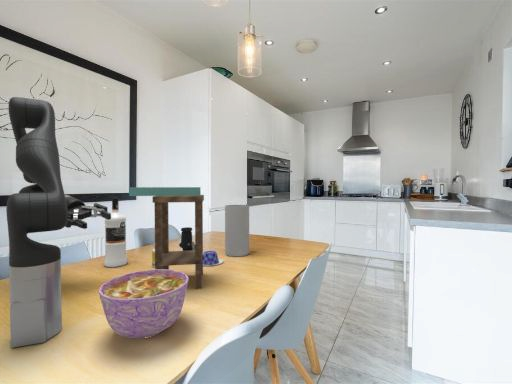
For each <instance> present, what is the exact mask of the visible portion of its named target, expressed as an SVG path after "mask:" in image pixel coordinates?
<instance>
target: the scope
mask: <svg viewBox="0 0 512 384" xmlns="http://www.w3.org/2000/svg"><path fill="white" fill-rule="evenodd" d="M180 231H181V234H180V235H181V237H180V238H181V239H180V243H179V244H178V246H179V248H181V249H182V251H191V250H195V241H193V232H192V231H193V228H192V227H190V226H189V227H187V226H186V227H181V228H180Z"/></svg>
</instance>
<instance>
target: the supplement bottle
mask: <svg viewBox="0 0 512 384" xmlns="http://www.w3.org/2000/svg"><path fill="white" fill-rule="evenodd" d="M153 247H154V248H153V249H152V250H151V252H152V253H151V267H153V268H155V243H153Z"/></svg>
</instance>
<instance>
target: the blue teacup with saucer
mask: <svg viewBox="0 0 512 384" xmlns="http://www.w3.org/2000/svg"><path fill="white" fill-rule="evenodd" d="M223 263H224V260H223V259H221V258H218V253H217V252H216V250H206V251H203V267H205V266H206V267H207V266H208V267H209V266H217V265H220V264H223Z"/></svg>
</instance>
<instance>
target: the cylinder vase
mask: <svg viewBox="0 0 512 384" xmlns="http://www.w3.org/2000/svg"><path fill="white" fill-rule="evenodd" d="M224 253H225V255H226V256H229V257H234V258H235V257H245V256H247V255H249V254H250V205H249V204H248V205H247V204H227V205H224Z"/></svg>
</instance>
